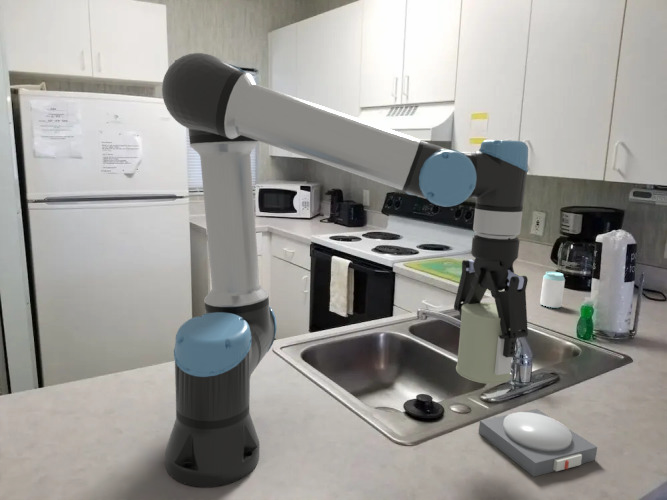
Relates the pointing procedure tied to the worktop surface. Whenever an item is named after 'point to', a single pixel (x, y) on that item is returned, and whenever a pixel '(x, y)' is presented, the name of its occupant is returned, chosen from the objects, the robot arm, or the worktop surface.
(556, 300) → the can
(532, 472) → the scale
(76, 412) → the worktop surface
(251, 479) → the worktop surface
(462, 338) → the can
